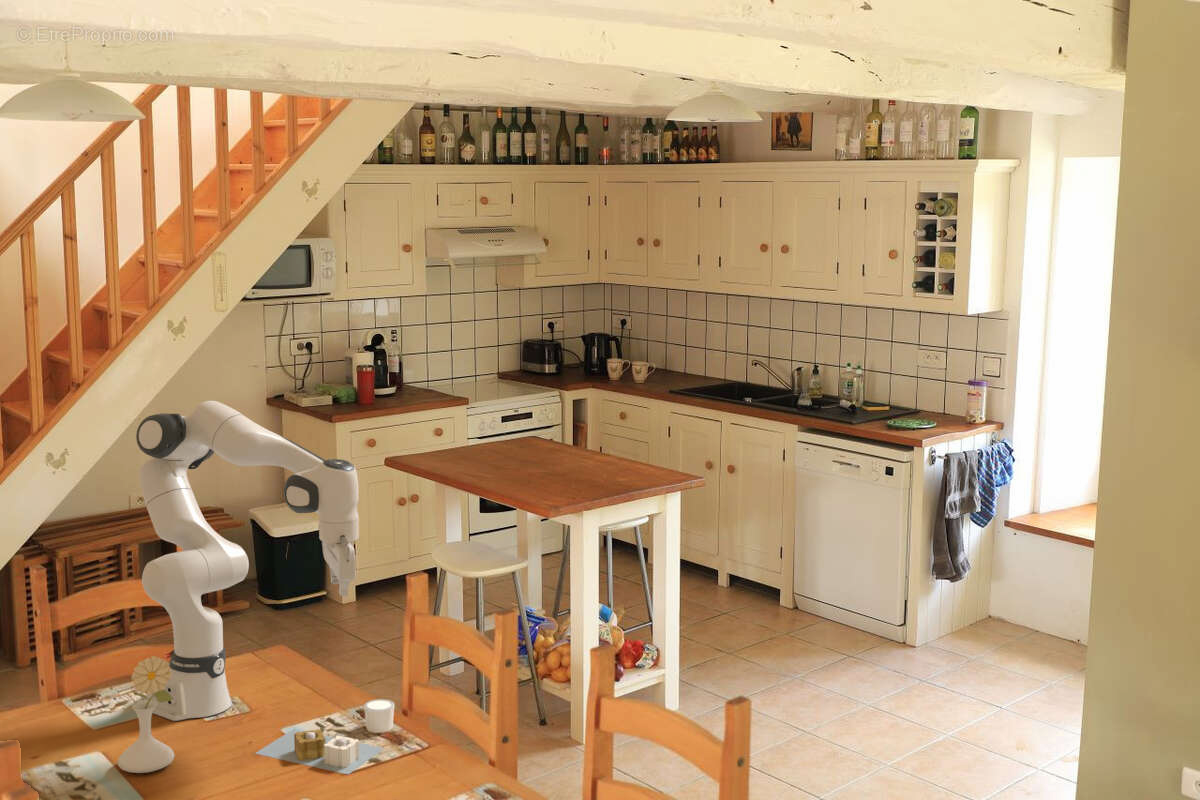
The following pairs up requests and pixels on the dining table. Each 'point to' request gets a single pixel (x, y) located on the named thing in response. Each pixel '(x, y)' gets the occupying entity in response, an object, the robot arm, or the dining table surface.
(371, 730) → the white cup
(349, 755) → the white gear
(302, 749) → the gear
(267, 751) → the board
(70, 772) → the dining table surface
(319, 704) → the dining table surface
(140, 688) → the flower in vase
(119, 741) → the dining table surface
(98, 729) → the dining table surface
